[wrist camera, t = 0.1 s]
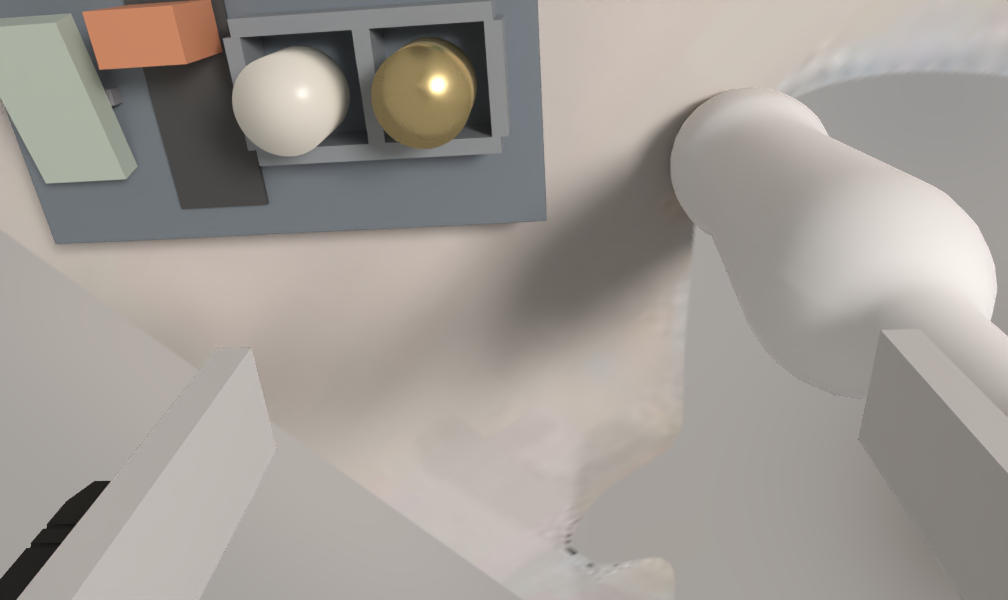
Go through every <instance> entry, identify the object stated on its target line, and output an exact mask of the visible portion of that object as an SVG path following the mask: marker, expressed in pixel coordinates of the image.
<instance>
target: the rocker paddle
mask: <svg viewBox="0 0 1008 600" xmlns="http://www.w3.org/2000/svg"><path fill="white" fill-rule="evenodd" d="M0 98H1V100H2V102H3V104H4V106H5V108H6V109H7V111H8V113H9V115H10V117H11V119H12V121H13V123H14V124H15V126H16V128H17V130H18V132H19V134H20V136H21V138H22V139H23V141H24V143H25V145H26V147H27V149H28V151H29V153H30V154H31V156H32V158H33V160H34V162H35V164H36V166H37V168H38V169H39V171H40V173H41V175H42V177H43V179H44V181H45V183H46V184H47V183H66V182H84V181H103V180H122V179H127V178H128V177H129V176H130V175H131V173H132V172H133V171H134V170H135V169H136V168H137V167H138V166H137V164H136V161H135V159H134V157H133V154H132V152H131V150H130V148H129V145H128V143H127V141H126V138H125V136H124V134H123V132H122V129H121V127H120V125H119V122H118V120H117V118H116V115H115V113H114V111H113V109H112V106H111V104H110V102H109V99H108V97H107V95H106V93H105V90H104V88H103V86H102V83H101V81H100V79H99V76H98V74H97V72H96V70H95V67H94V65H93V63H92V60H91V58H90V56H89V54H88V51H87V49H86V47H85V44H84V42H83V40H82V38H81V35H80V33H79V31H78V28H77V26H76V24H75V21H74V19H73V17H72V15H71V13H67V14H53V15H39V16H25V17H11V18H0Z"/></svg>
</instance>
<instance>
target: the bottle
mask: <svg viewBox="0 0 1008 600" xmlns="http://www.w3.org/2000/svg"><path fill="white" fill-rule="evenodd" d="M670 163H671V182H672V185H673V188H674V192H675V195H676V197H677V199H678V201H679V203H680V205H681V206H682V208H683V209H684V211H685V212H686V214H687V215H688V217H689V218H690V220H691V221H692V222H693V223H694V224H696V225H697V226H698V227H699V228H700V229H702V230H703V231H704V232H706V233H708V234H710V235H712V237H713V240H714V242H715V245H716V247H717V250H718V252H719V254H720V257H721V259H722V262H723V264H724V267H725V269H726V272H727V274H728V276H729V278H730V281H731V284H732V286H733V288H734V291H735V293H736V296H737V298H738V301H739V303H740V305H741V307H742V310H743V312H744V315H745V317H746V320H747V322H748V324H749V326H750V327H751V329H752V331H753V333H754V334H755V336H756V337H757V339H758V340H759V342H760V343H761V344H762V346H763V347H764V349H765V350H766V352H767V353H768V354H769V355H770V356H771V357H772V358H773V359H774V360H775V361H776V362H777V363H778V364H780V365H781V366H782V367H783V368H785V369H786V370H787V371H788V372H790V373H791V374H792V375H794V376H795V377H796V378H798V379H799V380H802V381H804V382H805V383H808V384H810V385H812V386H814V387H817V388H819V389H821V390H824V391H826V392H828V393H831V394H833V395H838V396H845V397H851V398H858V399H867V394H868V389H869V385H870V380H871V375H872V370H873V365H874V360H875V355H876V350H877V345H878V340H879V335H880V330H894V329H920V330H921V331H922V332H923V333H924V334H925V335H926V336H927V337H928V338H929V339H930V340H931V341H932V342H933V343H934V344H935V345H936V346H937V347H938V348H939V349H940V350H941V351H942V352H943V353H944V354H945V355H946V356H947V357H948V358H949V359H950V360H951V361H952V362H953V363H954V364H955V365H956V366H957V367H958V368H959V369H960V370H961V371H962V372H963V373H964V374H965V375H966V376H967V377H968V378H969V379H970V380H971V381H972V382H973V383H974V384H975V385H976V386H977V387H978V388H979V389H980V390H981V391H982V392H983V393H984V394H985V395H986V396H987V397H988V398H989V399H990V400H991V401H992V402H993V403H994V404H995V405H996V406H997V407H998V408H999V409H1000V410H1001V412H1002V413H1003V414H1004V415H1005V416H1006V417H1007V418H1008V337H1007V336H1006V335H1005V334H1004V333H1003V332H1002V331H1001V330H1000V329H999V328H998V327H996V326H995V325H994V324H993V323H992V322H991V317H992V313H993V308H994V303H995V298H996V293H997V284H996V274H995V265H994V262H993V259H992V256H991V253H990V250H989V248H988V246H987V244H986V242H985V240H984V238H983V236H982V234H981V232H980V230H979V228H978V226H977V225H976V224H975V222H974V221H973V220H972V219H971V218H970V217H969V216H968V214H967V213H966V212H965V211H964V210H963V209H962V208H960V206H958V205H957V204H956V203H955V202H954V201H953V200H952V199H951V198H950V197H949V196H948V195H947V194H946V193H944V192H942V191H941V190H939V189H938V188H936V187H934V186H932V185H930V184H928V183H926V182H924V181H922V180H920V179H917V178H915V177H913V176H911V175H909V174H907V173H905V172H903V171H901V170H899V169H896V168H894V167H892V166H890V165H888V164H886V163H884V162H881V161H880V160H877V159H875V158H873V157H871V156H869V155H867V154H865V153H863V152H860V151H858V150H856V149H854V148H852V147H850V146H848V145H845V144H843V143H841V142H839V141H837V140H835V139H833V138H831V137H829V136H828V134H827V132H826V130H825V128H824V127H823V125H822V123H821V121H820V120H819V118H818V117H817V116H816V115H815V114H814V113H813V112H812V111H811V110H809V108H808V107H807V106H805V105H804V104H803V103H801V102H799V101H798V100H796V99H794V98H792V97H790V96H788V95H786V94H784V93H782V92H780V91H778V90H773V89H767V88H760V87H748V88H739V89H731V90H729V91H726V92H723V93H721V94H718V95H715V96H713V97H712V98H710V99H709V100H707V101H706V102H704V103H703V104H701V105H700V106H699V107H697V108H696V109H695V110H694V112H693V113H692V114H691V115H690V116H689V117H688V118H687V119H686V120H685V121H684V123H683V125H682V127H681V129H680V130H679V132H678V134H677V136H676V138H675V141H674V145H673V149H672V153H671V160H670Z"/></svg>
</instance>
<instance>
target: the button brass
mask: <svg viewBox="0 0 1008 600" xmlns="http://www.w3.org/2000/svg"><path fill="white" fill-rule="evenodd" d="M476 95H477V77H476V73H475V70H474V67H473V65H472V63H471V61H470V59H469V58H468V57H467V55H466V54H465V53H464V52H463V51H462V50H461V49H460V48H459V47H458V46H456V45H455V44H453V43H451V42H449V41H447V40H445V39H441V38H437V37H423V38H418V39H415V40H413V41H411V42H409V43H407V44H406V45H404V46H403V47H401V48H400V49H399V50H397V51H396V52H395V53H393V54H392V55H391V56H390V57H388V58H387V59H386V60H385V61H384V62H383V63H382V64H381V66H380V67H379V69H378V70H377V72H376V74H375V77H374V80H373V83H372V89H371V101H372V107H373V110H374V113H375V116H376V118H377V120H378V122H379V124H380V125H381V127H382V128H383V129H384V130H385V132H386V133H387V134H388V135H389V136H391V137H392V138H393V139H394V140H396V141H398V142H399V143H401V144H403V145H406V146H408V147H412V148H417V149H431V148H436V147H440V146H442V145H444V144H446V143H448V142H450V141H451V140H452V139H454V138H455V137H456V136H457V135H458V134H459V133H460V131H461V130H462V129H463V127H464V125H465V124H466V122H467V119H468V117H469V114H470V112H471V109H472V107H473V104H474V102H475V99H476Z"/></svg>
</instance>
